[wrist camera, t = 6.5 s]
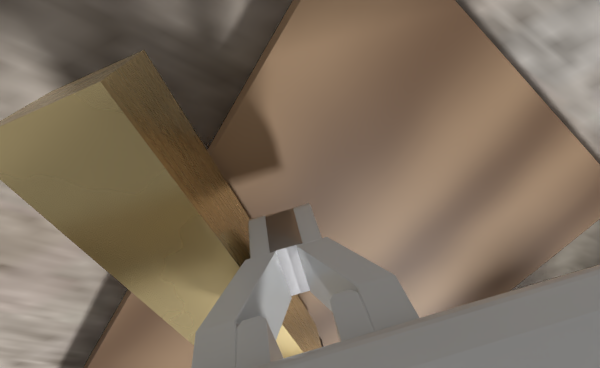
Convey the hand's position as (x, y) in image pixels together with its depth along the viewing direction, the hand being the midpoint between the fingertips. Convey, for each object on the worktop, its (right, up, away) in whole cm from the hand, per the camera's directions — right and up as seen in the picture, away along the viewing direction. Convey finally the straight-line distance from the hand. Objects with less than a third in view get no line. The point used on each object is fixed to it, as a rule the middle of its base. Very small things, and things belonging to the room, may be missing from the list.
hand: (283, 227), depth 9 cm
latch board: (+1, -7, +7) cm, 10 cm away
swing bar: (-1, -2, +3) cm, 4 cm away
